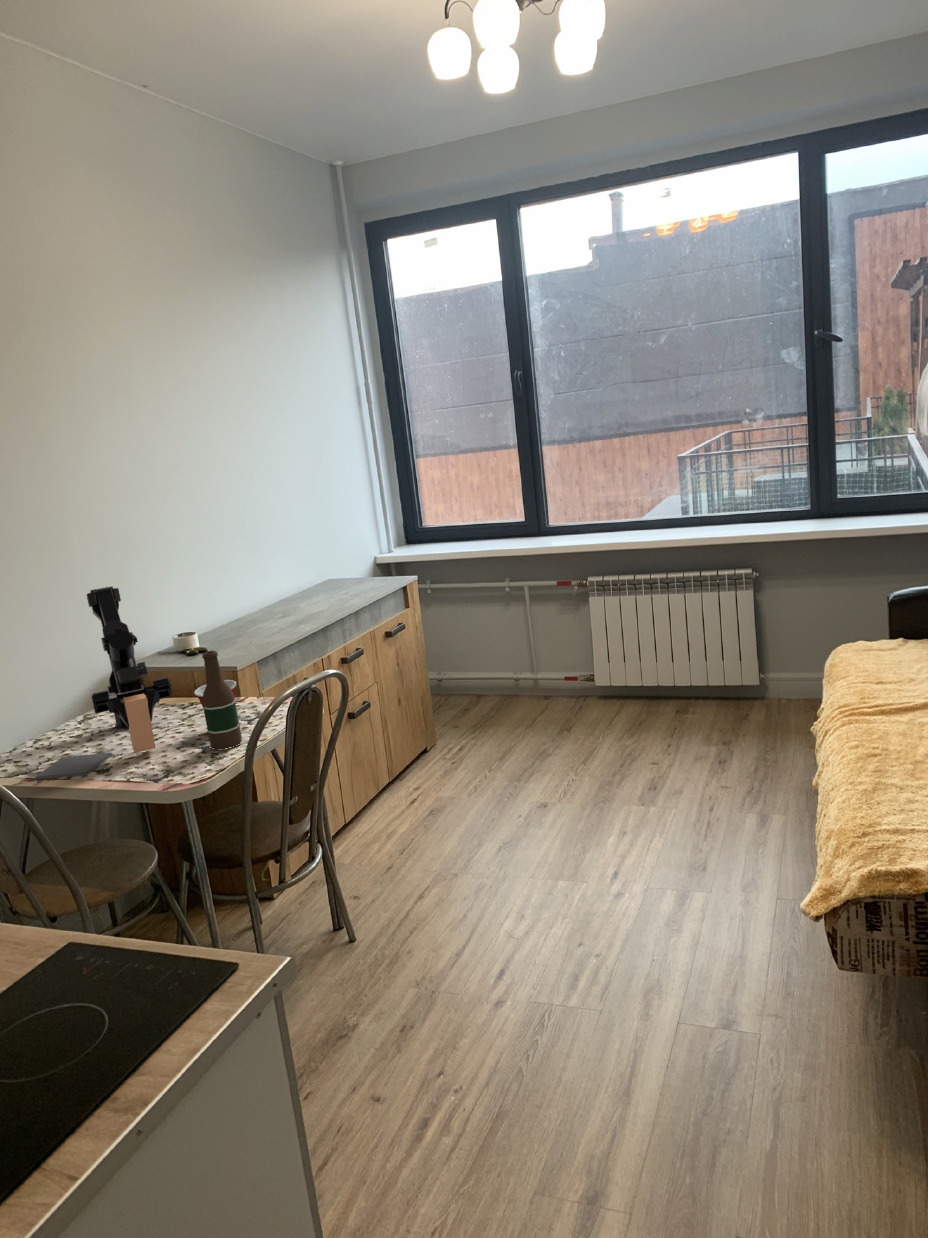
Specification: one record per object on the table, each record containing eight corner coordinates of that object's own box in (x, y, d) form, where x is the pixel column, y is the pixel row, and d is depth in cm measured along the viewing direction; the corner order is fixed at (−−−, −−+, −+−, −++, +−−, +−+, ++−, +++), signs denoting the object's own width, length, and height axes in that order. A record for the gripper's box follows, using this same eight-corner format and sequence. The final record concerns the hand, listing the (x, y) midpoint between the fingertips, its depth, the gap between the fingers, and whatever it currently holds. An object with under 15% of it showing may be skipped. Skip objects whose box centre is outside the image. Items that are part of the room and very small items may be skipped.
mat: (62, 760, 236) (62, 757, 236) (111, 755, 235) (110, 752, 235) (35, 779, 223) (35, 776, 223) (87, 774, 222) (86, 771, 222)
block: (132, 747, 233) (123, 697, 230) (153, 742, 235) (144, 693, 232) (134, 752, 228) (125, 702, 226) (155, 748, 230) (146, 697, 228)
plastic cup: (193, 736, 242) (185, 692, 239) (218, 722, 252) (210, 680, 249) (228, 737, 238) (219, 692, 235) (252, 722, 247) (244, 679, 245)
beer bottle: (248, 739, 233) (231, 647, 228) (231, 751, 226) (213, 655, 221) (222, 739, 236) (205, 648, 231) (204, 751, 229) (186, 657, 224)
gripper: (84, 662, 226) (96, 715, 219) (162, 646, 234) (177, 697, 226) (88, 686, 235) (101, 739, 227) (164, 670, 242) (178, 720, 235)
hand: (139, 723), depth 229 cm, fingers closed on block, 5 cm apart
